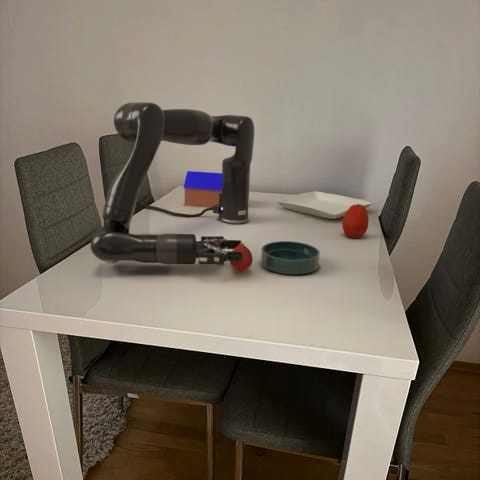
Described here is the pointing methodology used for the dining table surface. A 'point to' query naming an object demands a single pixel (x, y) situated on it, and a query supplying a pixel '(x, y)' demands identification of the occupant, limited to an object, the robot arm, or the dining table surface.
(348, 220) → the red egg
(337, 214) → the square plate
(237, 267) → the red lemon
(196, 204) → the house
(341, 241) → the dining table surface
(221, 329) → the dining table surface
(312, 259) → the bowl
